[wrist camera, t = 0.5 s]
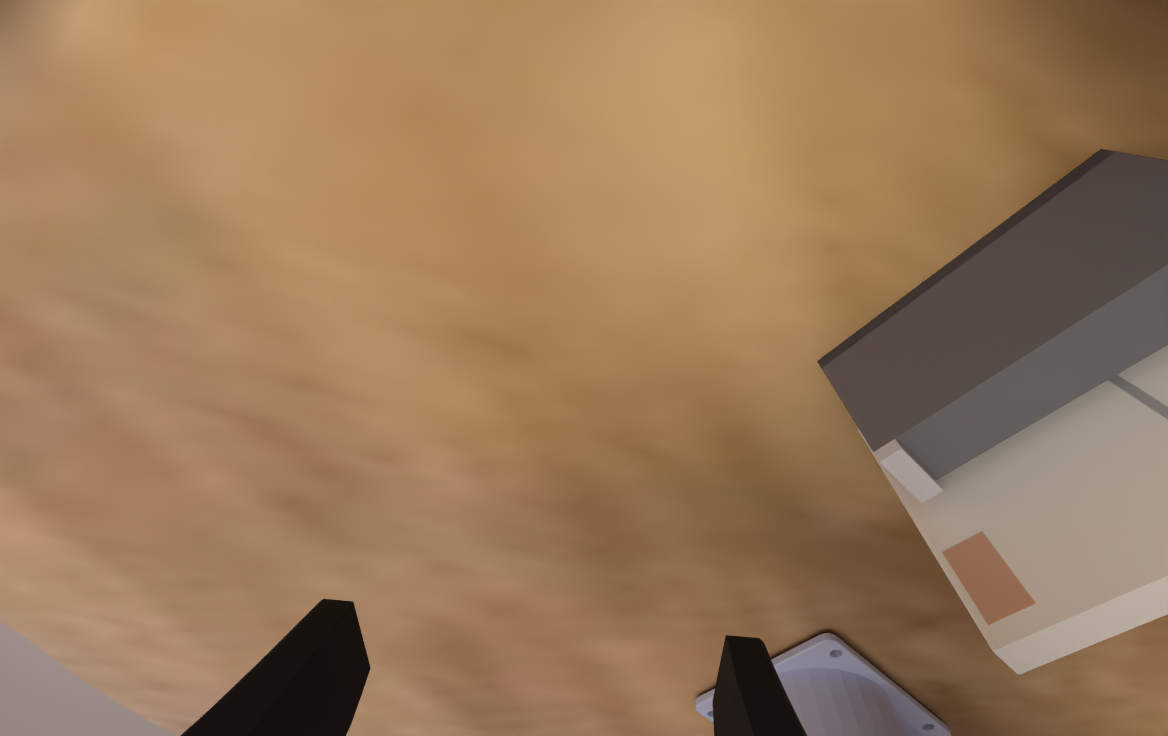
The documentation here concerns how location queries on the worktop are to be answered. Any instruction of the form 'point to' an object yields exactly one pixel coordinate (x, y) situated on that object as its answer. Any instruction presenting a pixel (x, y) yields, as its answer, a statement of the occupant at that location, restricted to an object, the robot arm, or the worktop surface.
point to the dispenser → (1014, 323)
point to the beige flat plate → (1061, 522)
